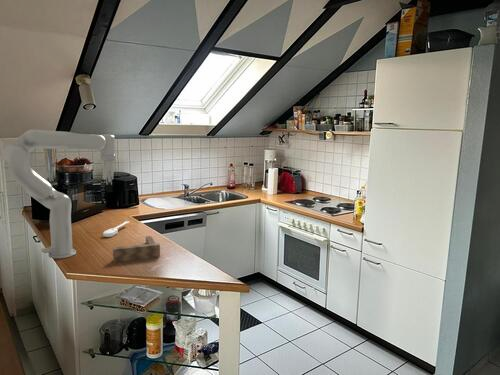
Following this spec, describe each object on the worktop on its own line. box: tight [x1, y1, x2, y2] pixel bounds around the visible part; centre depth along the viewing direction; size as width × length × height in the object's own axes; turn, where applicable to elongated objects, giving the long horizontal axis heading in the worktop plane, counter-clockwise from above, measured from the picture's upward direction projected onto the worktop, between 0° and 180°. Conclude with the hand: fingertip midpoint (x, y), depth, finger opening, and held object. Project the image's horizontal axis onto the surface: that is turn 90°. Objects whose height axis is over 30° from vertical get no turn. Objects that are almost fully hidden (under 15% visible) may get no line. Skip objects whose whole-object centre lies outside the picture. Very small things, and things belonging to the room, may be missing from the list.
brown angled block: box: [112, 235, 161, 263], centre depth 201 cm, size 22×26×6 cm
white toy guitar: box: [102, 220, 130, 238], centre depth 236 cm, size 28×6×3 cm, turn 171°
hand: (109, 191), depth 208 cm, fingers closed
